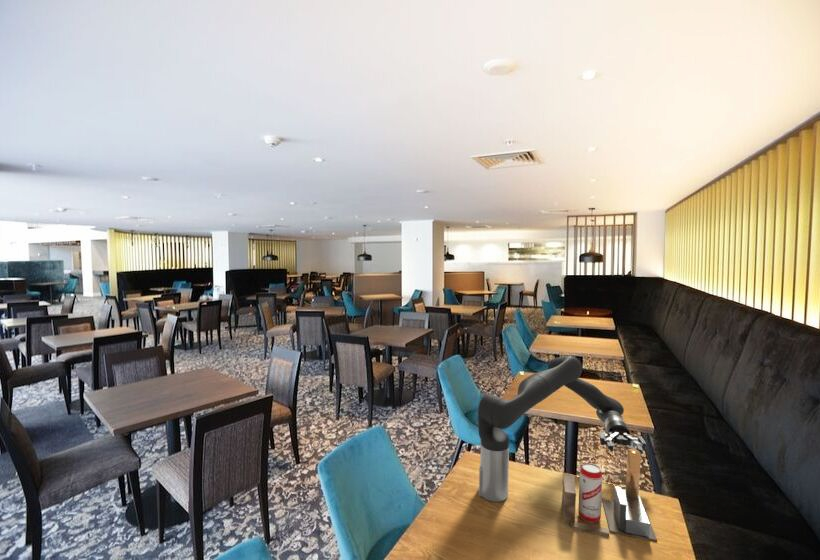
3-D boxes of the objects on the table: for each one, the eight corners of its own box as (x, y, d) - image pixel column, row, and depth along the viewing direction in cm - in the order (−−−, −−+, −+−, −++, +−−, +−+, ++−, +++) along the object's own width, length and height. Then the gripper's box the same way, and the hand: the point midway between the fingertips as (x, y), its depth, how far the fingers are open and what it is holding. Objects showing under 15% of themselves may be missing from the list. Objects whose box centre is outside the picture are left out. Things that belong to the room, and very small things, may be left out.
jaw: (619, 531, 115) (622, 471, 113) (610, 499, 129) (613, 446, 128) (649, 537, 113) (652, 476, 111) (636, 503, 127) (639, 449, 125)
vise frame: (564, 527, 118) (565, 495, 117) (561, 493, 134) (562, 464, 133) (659, 546, 110) (661, 512, 109) (643, 507, 127) (645, 477, 126)
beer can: (602, 525, 119) (605, 474, 117) (580, 523, 120) (582, 472, 118) (597, 511, 125) (599, 463, 123) (576, 509, 126) (578, 461, 124)
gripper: (596, 417, 152) (603, 437, 137) (638, 422, 148) (650, 443, 133) (596, 436, 153) (602, 458, 138) (637, 441, 149) (649, 464, 133)
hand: (625, 450), depth 135 cm, fingers open, 8 cm apart
